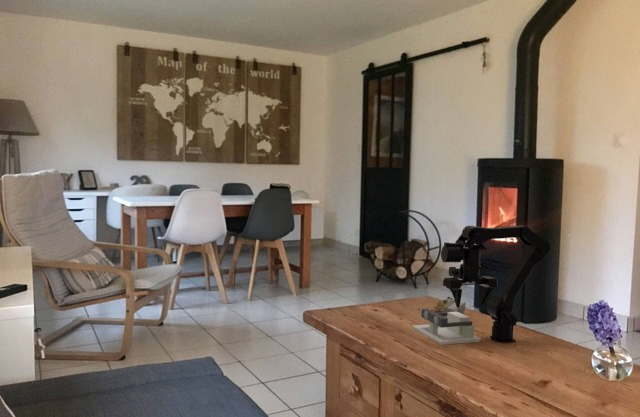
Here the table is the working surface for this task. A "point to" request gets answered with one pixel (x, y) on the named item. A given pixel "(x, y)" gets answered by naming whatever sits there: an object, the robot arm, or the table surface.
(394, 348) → the table surface
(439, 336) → the display stand
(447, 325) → the glasses
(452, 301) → the ceramic sculpture
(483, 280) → the robot arm
